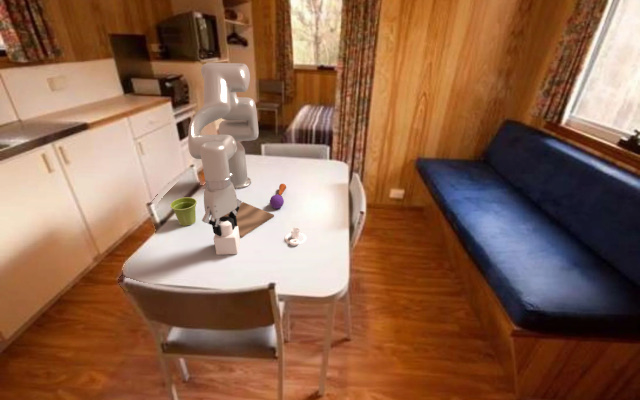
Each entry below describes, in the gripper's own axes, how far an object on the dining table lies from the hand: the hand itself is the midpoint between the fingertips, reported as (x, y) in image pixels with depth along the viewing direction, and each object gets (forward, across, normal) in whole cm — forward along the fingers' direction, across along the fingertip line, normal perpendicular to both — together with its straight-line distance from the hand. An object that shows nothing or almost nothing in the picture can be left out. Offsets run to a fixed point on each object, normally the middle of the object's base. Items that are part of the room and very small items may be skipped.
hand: (225, 229), depth 104 cm
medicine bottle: (+8, 0, 0) cm, 8 cm away
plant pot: (+8, -2, -26) cm, 27 cm away
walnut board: (+8, -16, -10) cm, 21 cm away
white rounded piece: (+9, -16, +14) cm, 23 cm away
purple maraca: (+9, -38, -9) cm, 40 cm away
